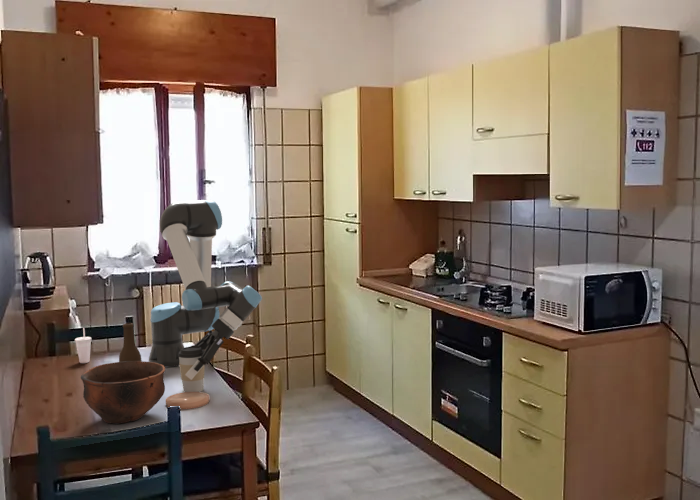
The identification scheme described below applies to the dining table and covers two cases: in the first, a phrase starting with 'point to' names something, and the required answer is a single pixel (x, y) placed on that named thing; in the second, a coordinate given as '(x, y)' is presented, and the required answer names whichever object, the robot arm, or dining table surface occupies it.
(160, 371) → the bowl
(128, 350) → the beer bottle
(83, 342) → the smoothie
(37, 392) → the dining table surface
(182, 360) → the coffee cup
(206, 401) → the saucer
